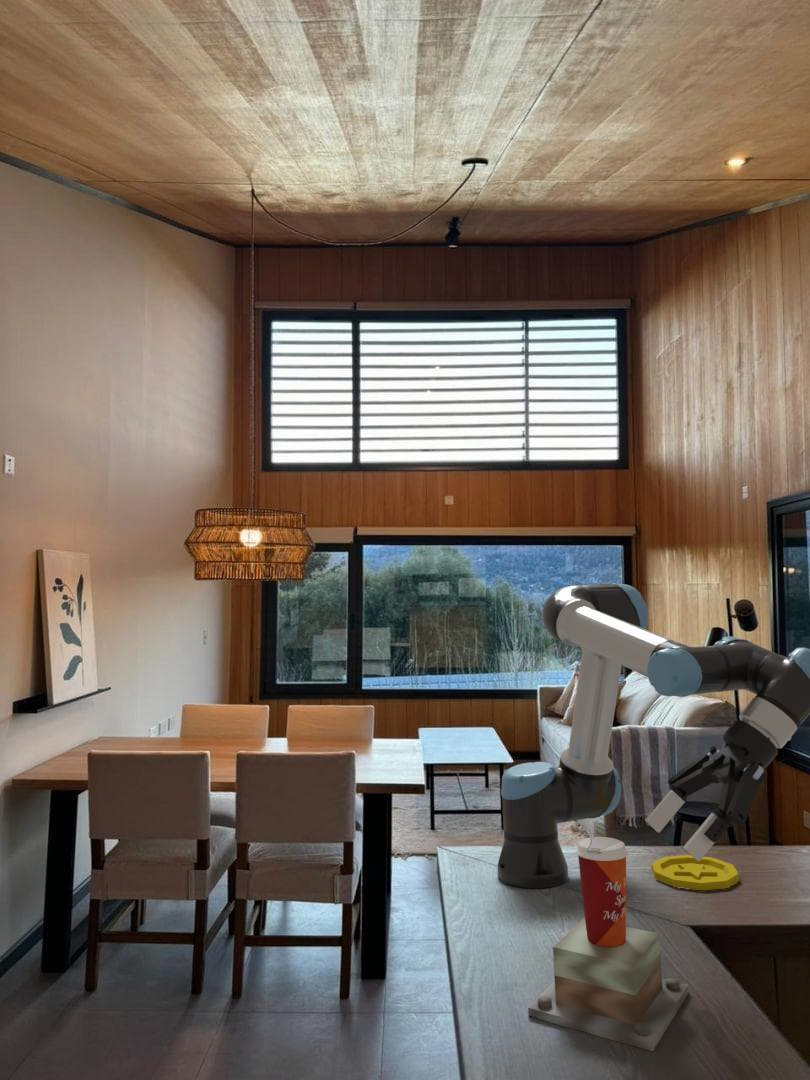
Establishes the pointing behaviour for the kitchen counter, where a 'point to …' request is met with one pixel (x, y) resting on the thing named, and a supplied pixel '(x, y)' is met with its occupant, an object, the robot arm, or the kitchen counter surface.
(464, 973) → the kitchen counter surface
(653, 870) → the decorative disc
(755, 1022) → the kitchen counter surface
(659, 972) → the bolted block on plate
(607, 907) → the paper cup
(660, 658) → the robot arm
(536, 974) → the kitchen counter surface
